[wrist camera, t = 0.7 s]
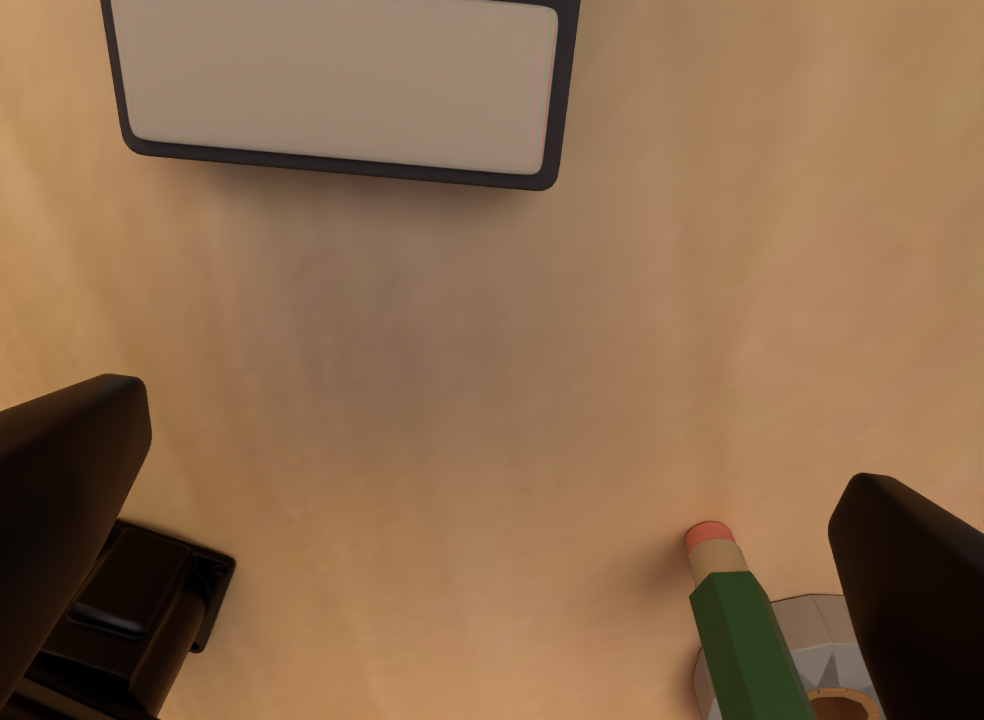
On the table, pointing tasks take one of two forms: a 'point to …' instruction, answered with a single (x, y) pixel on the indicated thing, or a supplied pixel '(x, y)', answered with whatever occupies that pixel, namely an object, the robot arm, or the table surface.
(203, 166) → the table surface
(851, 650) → the tape
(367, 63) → the calculator
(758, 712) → the pencil
